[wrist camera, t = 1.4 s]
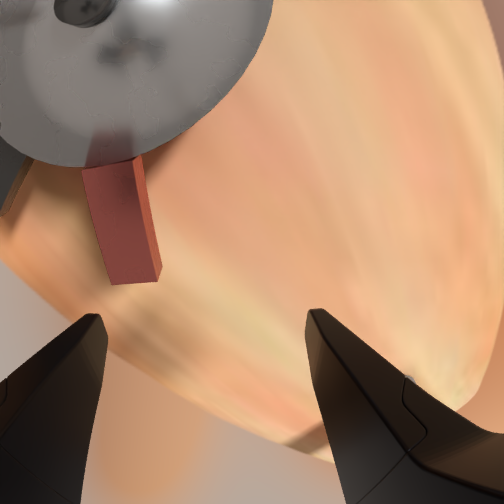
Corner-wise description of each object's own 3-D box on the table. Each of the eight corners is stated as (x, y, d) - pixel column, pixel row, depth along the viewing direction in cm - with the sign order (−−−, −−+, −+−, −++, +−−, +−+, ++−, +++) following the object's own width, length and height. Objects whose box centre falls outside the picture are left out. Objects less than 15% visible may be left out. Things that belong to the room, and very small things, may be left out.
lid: (-6, -43, 6) (-29, -51, 3) (258, -120, 6) (263, -144, 4) (32, 277, 15) (13, 300, 13) (283, 255, 16) (292, 282, 14)
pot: (182, -114, 8) (173, -152, 4) (339, -1, 14) (373, -24, 9) (-31, 131, 15) (-74, 147, 10) (88, 245, 20) (59, 285, 16)
